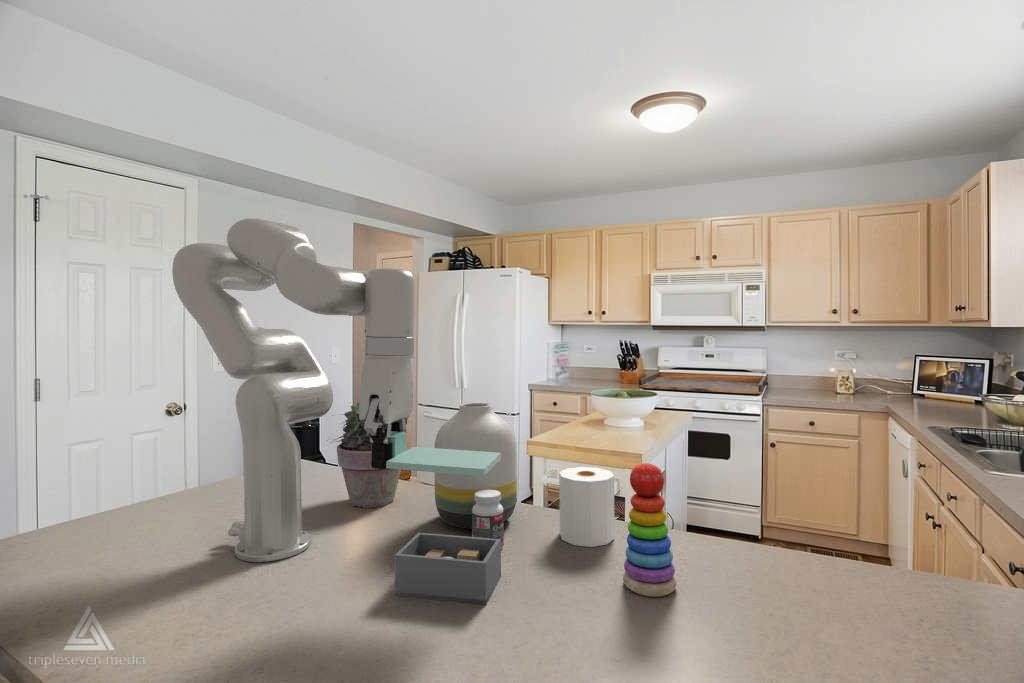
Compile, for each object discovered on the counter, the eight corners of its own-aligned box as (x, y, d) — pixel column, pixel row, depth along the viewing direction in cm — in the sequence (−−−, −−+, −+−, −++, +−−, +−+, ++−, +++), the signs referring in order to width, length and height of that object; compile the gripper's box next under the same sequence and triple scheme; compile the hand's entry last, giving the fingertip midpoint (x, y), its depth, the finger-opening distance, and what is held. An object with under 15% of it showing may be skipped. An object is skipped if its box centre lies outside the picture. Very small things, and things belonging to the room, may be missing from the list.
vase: (534, 521, 110) (533, 405, 109) (466, 543, 99) (465, 413, 98) (484, 502, 123) (483, 397, 122) (419, 519, 112) (418, 404, 111)
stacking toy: (677, 578, 84) (677, 460, 84) (675, 603, 77) (675, 473, 76) (626, 571, 87) (626, 456, 86) (619, 594, 79) (619, 468, 79)
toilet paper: (608, 550, 95) (608, 483, 95) (552, 542, 99) (552, 477, 99) (618, 530, 105) (618, 469, 104) (567, 523, 108) (567, 464, 108)
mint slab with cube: (361, 466, 80) (361, 439, 80) (390, 450, 90) (391, 427, 90) (484, 476, 76) (484, 448, 76) (500, 459, 86) (501, 434, 85)
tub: (395, 595, 80) (394, 555, 79) (418, 568, 88) (418, 532, 88) (486, 604, 77) (485, 563, 76) (501, 576, 85) (500, 539, 85)
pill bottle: (499, 555, 93) (499, 499, 93) (468, 553, 94) (467, 497, 94) (506, 542, 99) (506, 489, 99) (476, 540, 100) (476, 487, 100)
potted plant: (327, 493, 130) (326, 390, 129) (409, 487, 135) (408, 388, 134) (319, 518, 112) (317, 400, 112) (413, 510, 117) (412, 396, 117)
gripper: (390, 346, 93) (389, 450, 93) (339, 350, 76) (338, 477, 77) (431, 347, 91) (430, 453, 92) (388, 351, 75) (387, 481, 75)
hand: (388, 463), depth 84 cm, fingers closed on mint slab with cube, 4 cm apart
